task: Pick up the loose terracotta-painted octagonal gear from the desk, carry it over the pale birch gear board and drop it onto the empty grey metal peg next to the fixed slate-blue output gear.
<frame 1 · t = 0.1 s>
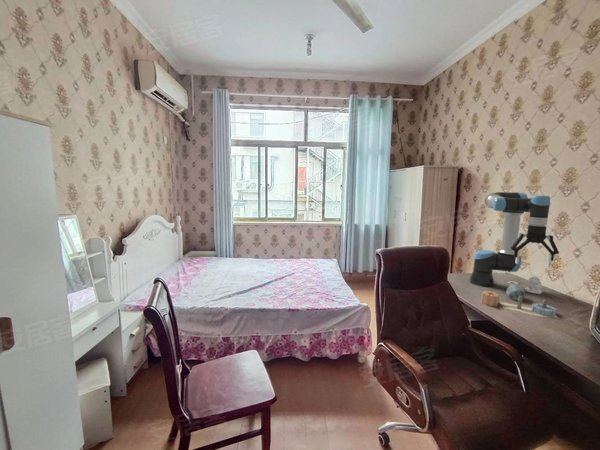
hand: (532, 264, 157), 28 cm above the table, fingers open, 13 cm apart
output gear: (543, 312, 162), resting on gear board
figurine: (532, 291, 196), on the table
gear board: (527, 311, 165), on the table
spool: (514, 299, 182), on the table
loose gear: (489, 303, 175), on the table
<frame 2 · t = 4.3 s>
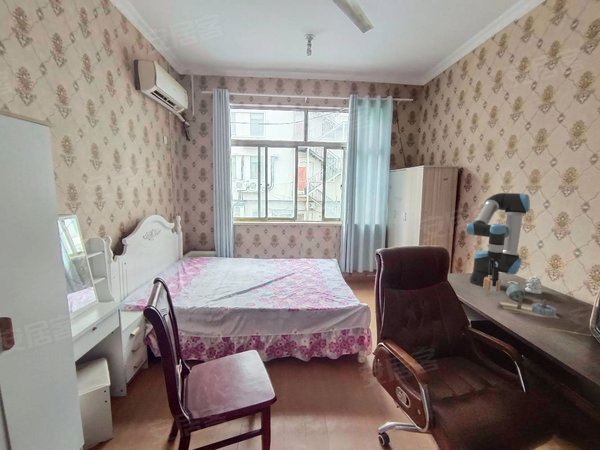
hand: (491, 288, 174), 9 cm above the table, fingers closed on loose gear, 8 cm apart
loose gear: (491, 288, 174), point 9 cm above the table, touching gripper
everything else where it was.
when the fingers open (3 cm above the table, at t = 8.2 s): loose gear drops 1 cm, resting on gear board.
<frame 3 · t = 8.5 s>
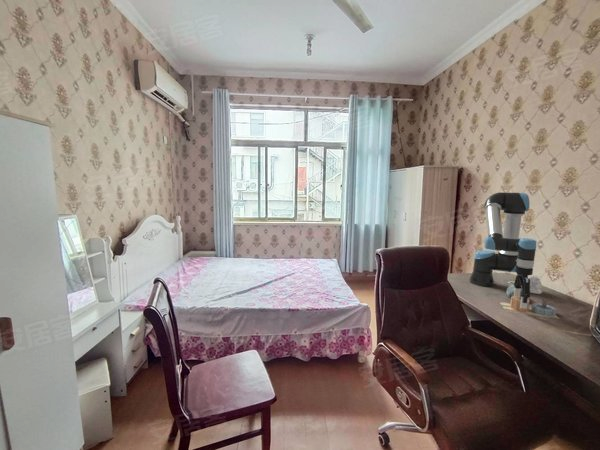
hand: (519, 303, 165), 4 cm above the table, fingers open, 12 cm apart
loose gear: (519, 308, 166), point 1 cm above the table, touching gear board
everything else where it was.
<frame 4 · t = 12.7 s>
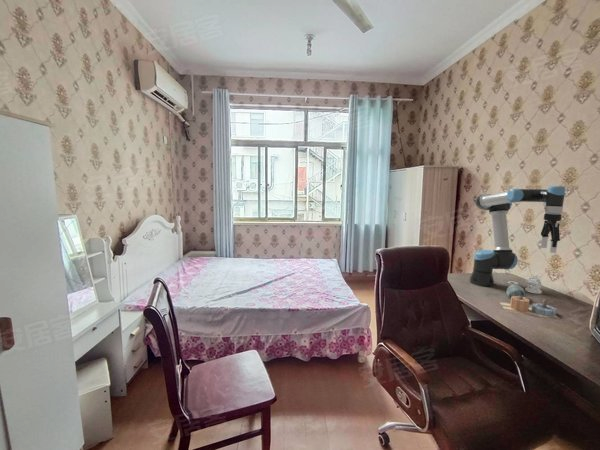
hand: (547, 250, 170), 33 cm above the table, fingers open, 13 cm apart
nothing on the table moved.
at the end: loose gear 0.0 cm from the target spot on the gear board, point 0.8 cm above the gear board's base; loose gear tilted 0°; the gripper is holding nothing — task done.
